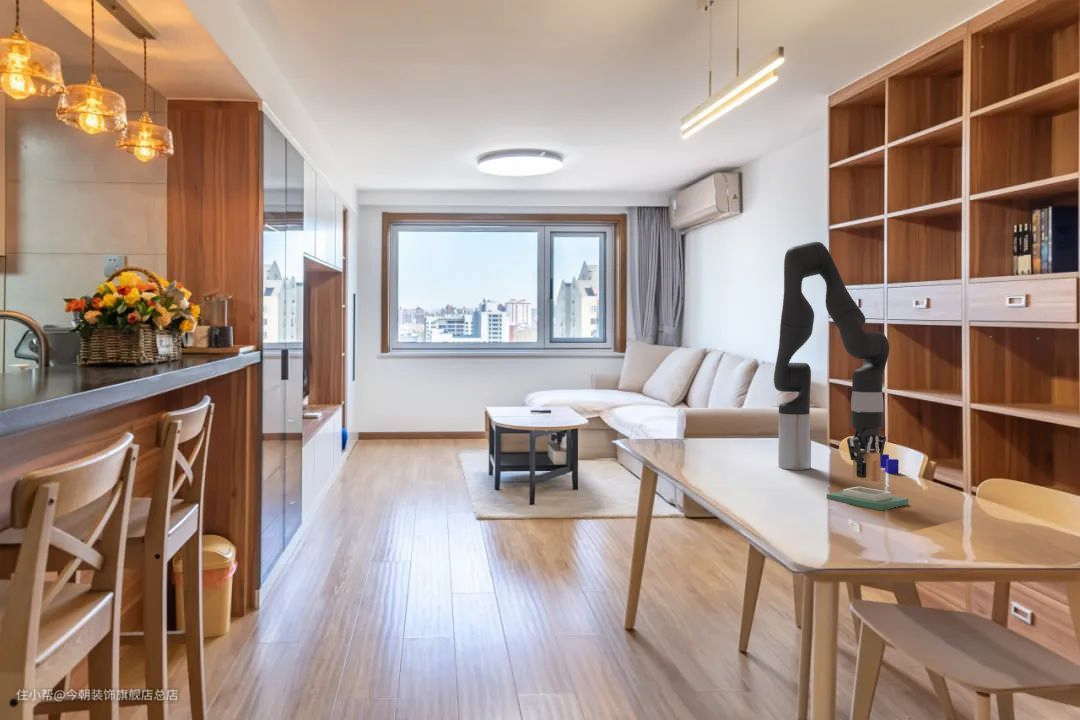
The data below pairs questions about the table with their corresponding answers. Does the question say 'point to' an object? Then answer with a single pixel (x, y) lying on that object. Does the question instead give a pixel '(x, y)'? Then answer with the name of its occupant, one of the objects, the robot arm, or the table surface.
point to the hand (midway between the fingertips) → (866, 476)
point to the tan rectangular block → (869, 468)
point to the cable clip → (889, 464)
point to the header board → (868, 498)
